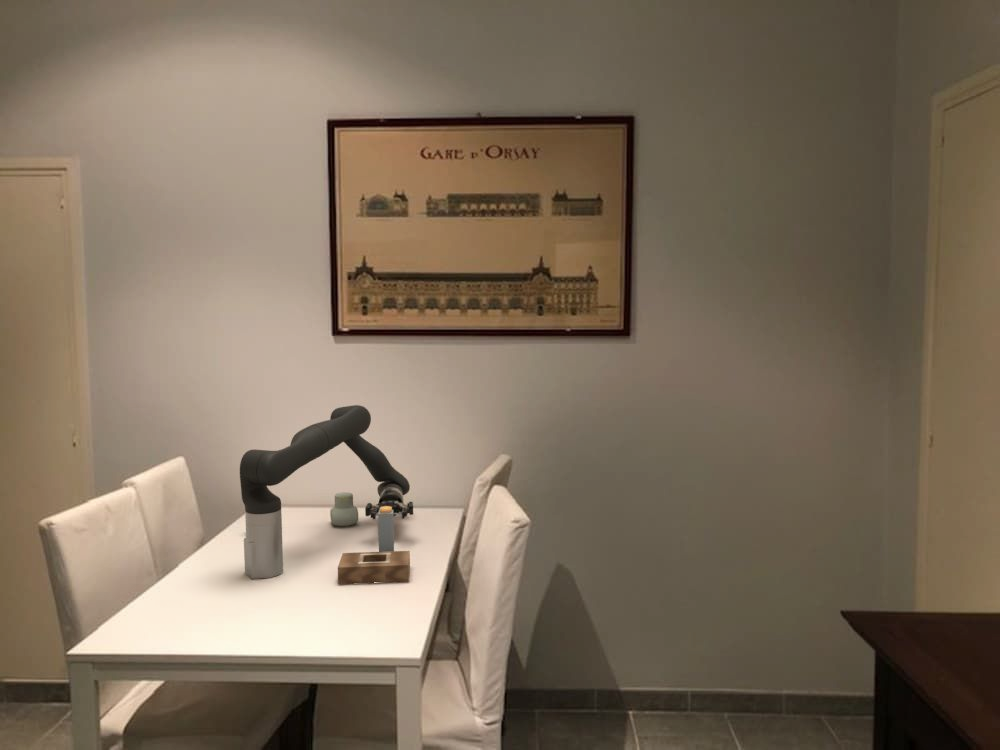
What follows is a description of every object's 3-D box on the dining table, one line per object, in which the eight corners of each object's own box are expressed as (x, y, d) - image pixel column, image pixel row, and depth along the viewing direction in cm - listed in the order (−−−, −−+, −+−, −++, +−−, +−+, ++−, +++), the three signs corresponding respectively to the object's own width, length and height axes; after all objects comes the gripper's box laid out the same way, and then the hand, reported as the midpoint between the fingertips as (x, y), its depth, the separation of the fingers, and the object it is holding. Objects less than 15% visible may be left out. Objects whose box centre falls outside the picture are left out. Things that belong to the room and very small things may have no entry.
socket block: (338, 584, 205) (337, 566, 204) (343, 569, 217) (342, 552, 216) (408, 582, 206) (408, 564, 206) (409, 566, 218) (409, 550, 218)
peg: (379, 563, 221) (378, 509, 220) (380, 558, 225) (378, 506, 224) (393, 563, 222) (392, 509, 220) (394, 558, 226) (393, 505, 224)
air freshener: (330, 521, 265) (329, 491, 264) (355, 518, 268) (354, 489, 267) (333, 529, 255) (332, 499, 254) (359, 527, 257) (358, 497, 256)
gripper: (367, 490, 249) (363, 504, 233) (413, 488, 250) (412, 502, 234) (368, 513, 250) (364, 529, 234) (414, 512, 251) (413, 527, 235)
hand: (388, 515), depth 234 cm, fingers open, 8 cm apart
